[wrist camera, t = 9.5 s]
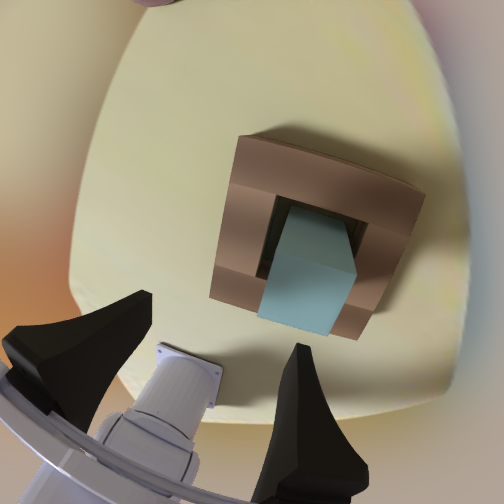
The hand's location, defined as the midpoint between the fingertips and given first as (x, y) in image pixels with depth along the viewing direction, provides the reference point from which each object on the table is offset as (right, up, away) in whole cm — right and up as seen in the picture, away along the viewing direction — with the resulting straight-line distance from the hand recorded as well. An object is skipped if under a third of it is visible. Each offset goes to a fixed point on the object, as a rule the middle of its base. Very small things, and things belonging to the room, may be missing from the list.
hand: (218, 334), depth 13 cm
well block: (+6, +5, +8) cm, 11 cm away
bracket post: (+6, +5, +8) cm, 11 cm away
